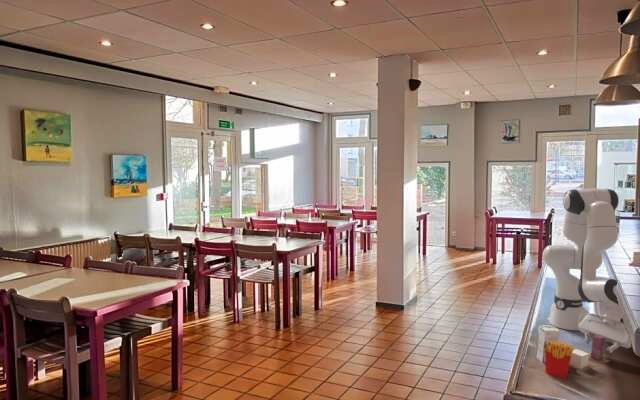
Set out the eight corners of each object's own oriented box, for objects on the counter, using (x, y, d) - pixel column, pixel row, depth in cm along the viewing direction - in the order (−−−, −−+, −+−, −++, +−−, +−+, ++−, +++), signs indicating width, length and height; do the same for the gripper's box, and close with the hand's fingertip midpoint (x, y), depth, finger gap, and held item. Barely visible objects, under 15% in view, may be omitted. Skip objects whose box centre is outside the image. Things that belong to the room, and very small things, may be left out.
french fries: (542, 376, 188) (545, 342, 187) (544, 371, 192) (547, 338, 190) (569, 382, 183) (573, 348, 182) (571, 378, 187) (574, 344, 186)
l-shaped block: (590, 355, 208) (593, 332, 207) (610, 363, 201) (613, 339, 200) (555, 367, 196) (558, 342, 194) (575, 375, 189) (578, 350, 188)
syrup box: (549, 359, 203) (552, 324, 202) (556, 366, 197) (559, 330, 196) (535, 359, 203) (538, 324, 201) (542, 365, 197) (545, 329, 196)
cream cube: (575, 361, 200) (576, 349, 199) (587, 366, 195) (589, 353, 195) (568, 363, 197) (569, 351, 196) (580, 368, 193) (581, 356, 192)
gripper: (585, 307, 214) (569, 334, 210) (636, 323, 196) (620, 352, 192) (590, 316, 216) (575, 342, 212) (641, 332, 199) (625, 361, 195)
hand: (597, 347), depth 202 cm, fingers open, 8 cm apart
